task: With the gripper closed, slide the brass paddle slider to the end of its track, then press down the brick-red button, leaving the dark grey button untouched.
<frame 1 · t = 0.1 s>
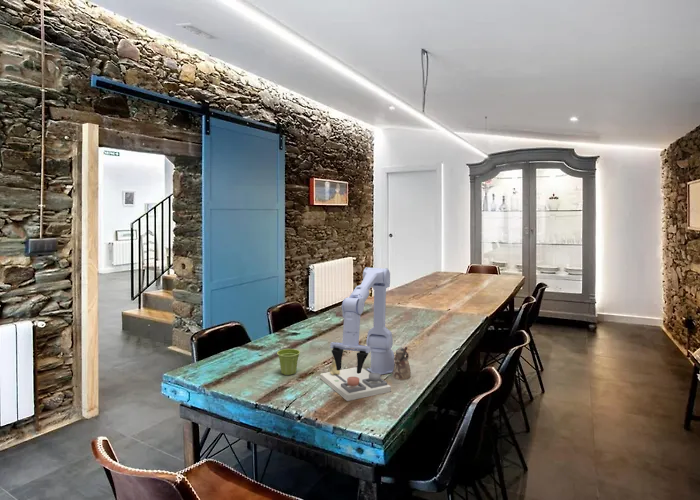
hand: (348, 371, 151), 11 cm above the table, tool pointing down, fingers open, 7 cm apart
brass slider: (334, 366, 172), point 5 cm above the table, slide at 0.0 cm
control board: (354, 384, 166), on the table
grey button: (374, 377, 162), point 4 cm above the table, slide at 0.0 cm
red button: (353, 381, 158), point 4 cm above the table, slide at 0.0 cm
plant pot: (288, 373, 179), on the table
figurine: (401, 377, 174), on the table
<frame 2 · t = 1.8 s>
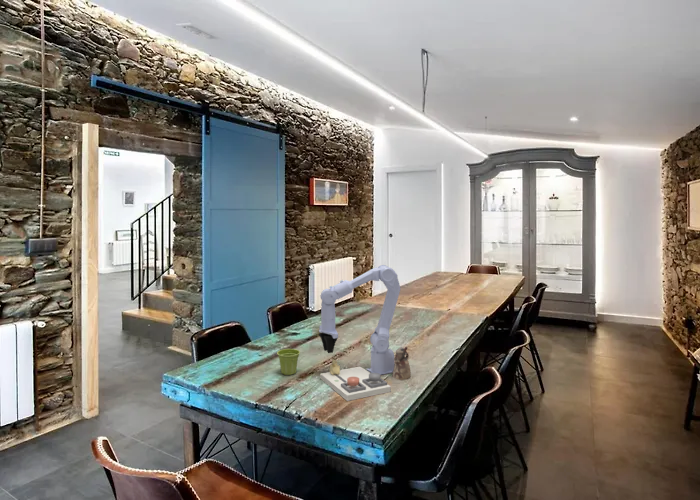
hand: (328, 351, 177), 9 cm above the table, tool pointing down, fingers open, 3 cm apart
nothing on the table moved.
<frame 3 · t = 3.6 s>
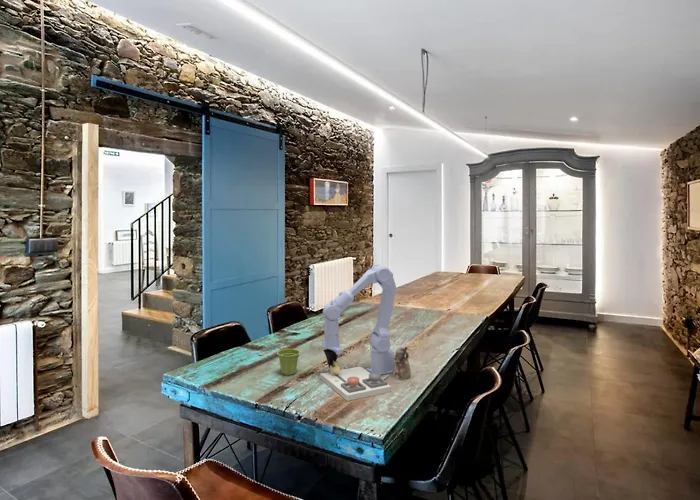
hand: (331, 367, 174), 4 cm above the table, tool pointing down, fingers closed
brass slider: (335, 366, 171), point 5 cm above the table, slide at 0.3 cm, touching gripper
everything else where it was.
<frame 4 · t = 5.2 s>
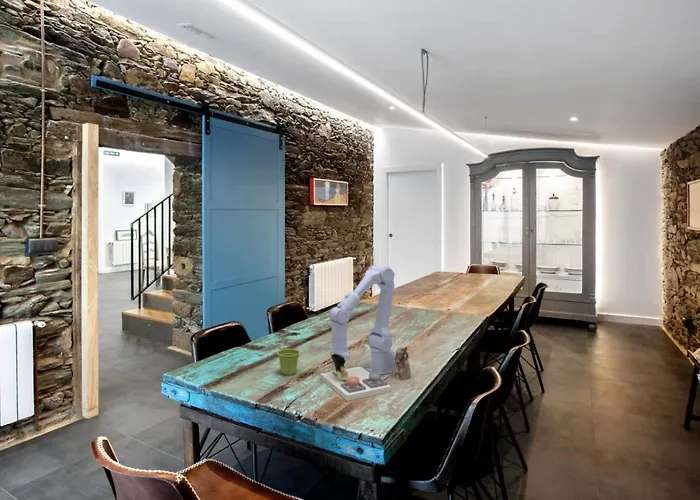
hand: (339, 372, 168), 4 cm above the table, tool pointing down, fingers closed
brass slider: (342, 372, 165), point 5 cm above the table, slide at 7.2 cm, touching gripper
everything else where it was.
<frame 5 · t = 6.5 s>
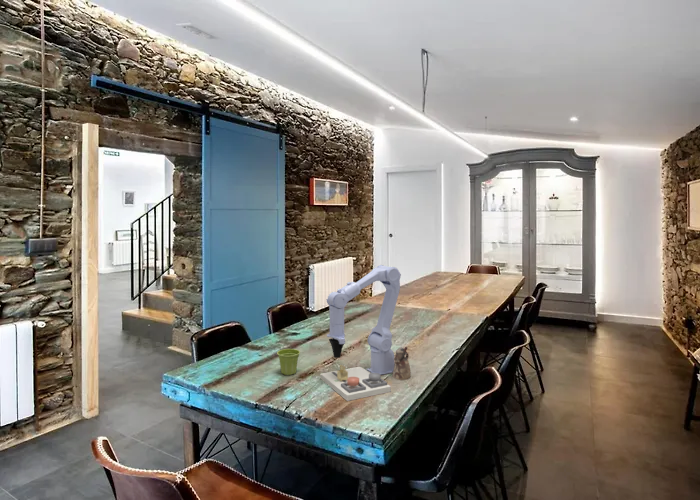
hand: (337, 357, 169), 9 cm above the table, tool pointing down, fingers closed
brass slider: (342, 372, 165), point 5 cm above the table, slide at 7.1 cm
everything else where it was.
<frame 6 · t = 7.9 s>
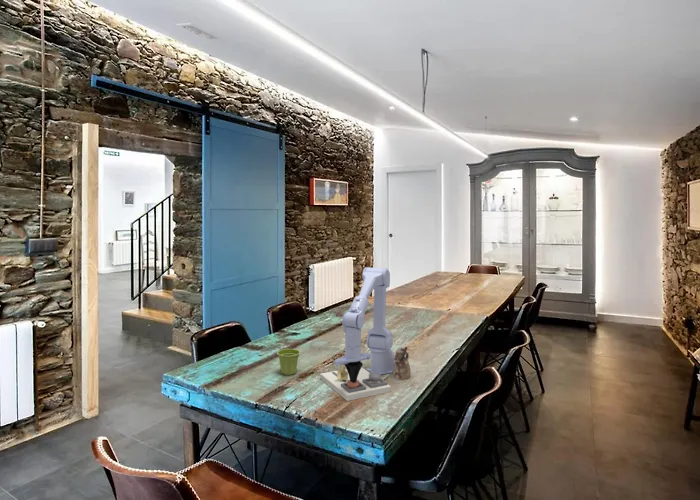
hand: (353, 381, 158), 4 cm above the table, tool pointing down, fingers closed, pressing on red button
red button: (353, 383, 158), point 3 cm above the table, slide at 1.0 cm, touching gripper
everything else where it was.
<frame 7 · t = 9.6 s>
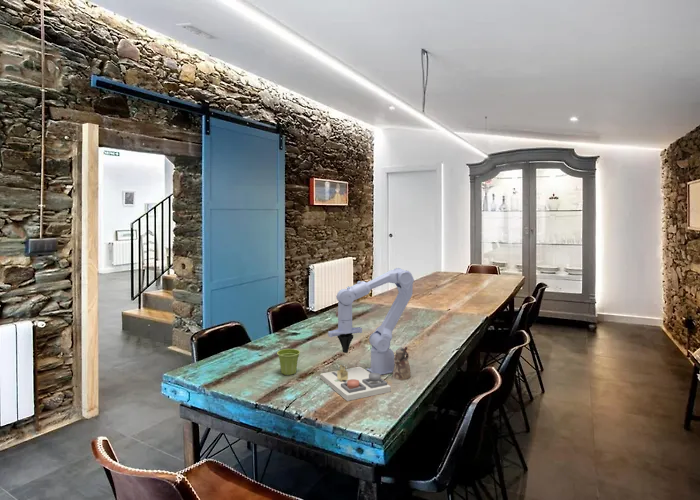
hand: (345, 352, 176), 9 cm above the table, tool pointing down, fingers closed
red button: (353, 384, 158), point 3 cm above the table, slide at 1.0 cm
everything else where it was.
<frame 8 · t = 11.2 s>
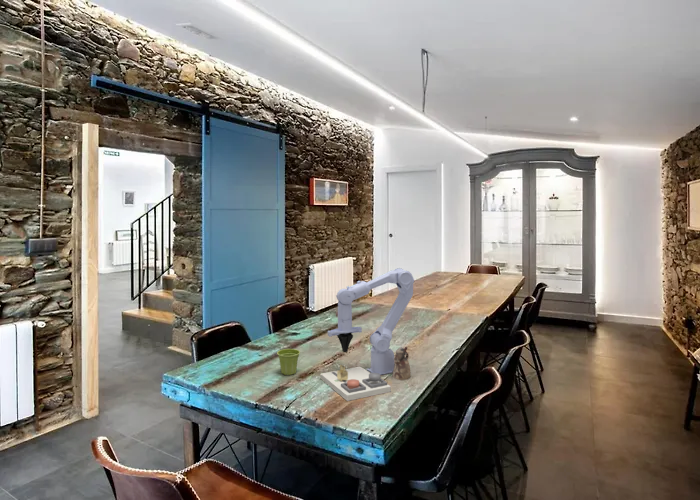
hand: (344, 351, 177), 9 cm above the table, tool pointing down, fingers closed
nothing on the table moved.
at the end: brass slider slide at 7.1 cm; red button slide at 1.0 cm; grey button slide at 0.0 cm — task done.
